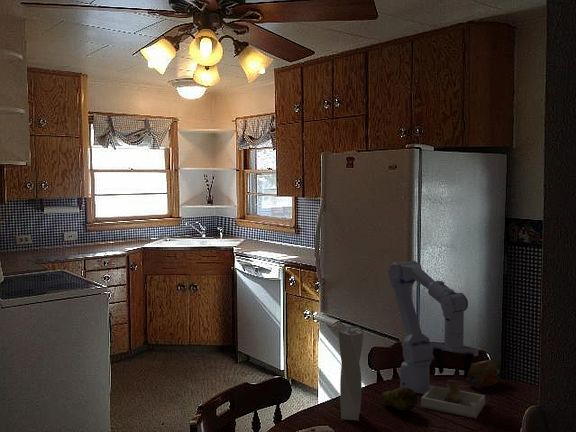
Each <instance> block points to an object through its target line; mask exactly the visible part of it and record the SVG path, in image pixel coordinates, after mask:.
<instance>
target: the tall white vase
mask: <svg viewBox="0 0 576 432" xmlns="http://www.w3.org/2000/svg"><path fill="white" fill-rule="evenodd" d="M357 329H359V330H360V331H358V330H357ZM338 342H339V343H338V344H339V351H340V361H341V362H340V363H341V367H340V379H339V382H340V383H339V385H340V386H339V387H340V389H339V390H340V391H339V393H340V394H339V399H340V417H341V419H340V420H345V421H357V422H358V421H360V414H361V406H362V390H363V389H362V388H363V387H362V383H363V382H362V372H361V370H362V369H361V365H360V360H361V355H362V351H363V350H362V348H363V342H364V331H363V329H362V328H361V327H360V326H356V325H355V326H354V325H353V326H350V327H349V326H348V327H341V328H339V329H338Z"/></svg>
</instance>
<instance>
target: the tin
mask: <svg viewBox="0 0 576 432" xmlns="http://www.w3.org/2000/svg"><path fill="white" fill-rule="evenodd" d="M501 367H502V366H501V365H500V363H499V362H498V361H496V360H492V359H487V360H482V361H477V362H472V363H471V366H470V369H469V373H468V377H467V378H465V379H466V382H467V384H468V385H469V386H471V387H473V388H476V389H481V388H482V387H483V388H486V387H490V386H494V385H496V384H498V383H499V381H500V379H501V376H502V368H501ZM483 388H482V389H483Z"/></svg>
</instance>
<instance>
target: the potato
mask: <svg viewBox="0 0 576 432" xmlns="http://www.w3.org/2000/svg"><path fill="white" fill-rule="evenodd" d="M381 401H382V403H383V404H384V405H386V406H387V407H391V408H392V409H395V410H398V411H412V410H413V409H414V408H415V407H416V405H418V401H419V400H418V395H417V393H416V392H414V391H413V390H412V389H410V388H403V387H401V388H400V387H397V388H395V389H391V390H386V391H384V392H382V394H381Z"/></svg>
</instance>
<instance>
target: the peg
mask: <svg viewBox="0 0 576 432" xmlns="http://www.w3.org/2000/svg"><path fill="white" fill-rule="evenodd" d="M447 388H448V392H447V402H450V403H455V404H459V391H460V381H458V380H456V379H449V380H447Z"/></svg>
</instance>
